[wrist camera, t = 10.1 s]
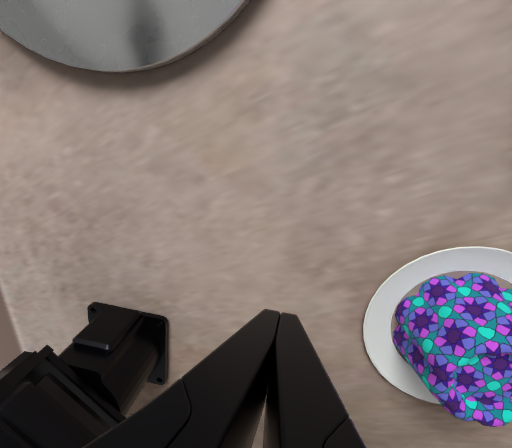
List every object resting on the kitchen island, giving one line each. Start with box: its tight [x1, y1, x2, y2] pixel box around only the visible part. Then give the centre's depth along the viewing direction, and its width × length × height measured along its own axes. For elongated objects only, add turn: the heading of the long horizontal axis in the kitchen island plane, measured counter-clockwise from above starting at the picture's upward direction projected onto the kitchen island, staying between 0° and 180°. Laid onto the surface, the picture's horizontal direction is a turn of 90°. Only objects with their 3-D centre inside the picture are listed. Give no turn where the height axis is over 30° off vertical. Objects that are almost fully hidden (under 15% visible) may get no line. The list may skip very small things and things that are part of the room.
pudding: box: [363, 246, 512, 427], centre depth 19 cm, size 12×12×5 cm
